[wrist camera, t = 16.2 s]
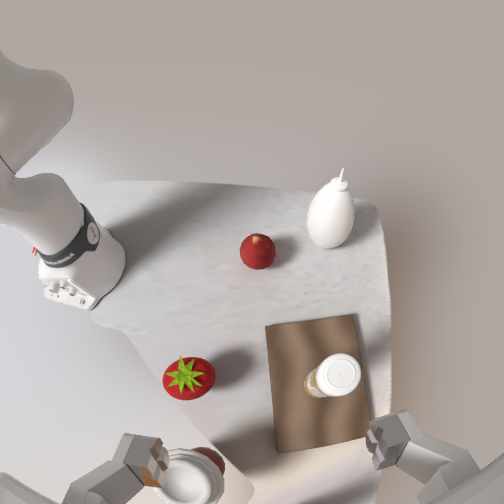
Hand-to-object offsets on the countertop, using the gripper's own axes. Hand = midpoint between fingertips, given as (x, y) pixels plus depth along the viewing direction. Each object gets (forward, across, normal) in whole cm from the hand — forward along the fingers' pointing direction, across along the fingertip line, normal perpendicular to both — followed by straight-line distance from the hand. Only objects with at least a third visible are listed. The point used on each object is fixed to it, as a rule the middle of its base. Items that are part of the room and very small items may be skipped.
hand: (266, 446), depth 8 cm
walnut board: (+24, -8, +20) cm, 32 cm away
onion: (+40, -1, +4) cm, 40 cm away
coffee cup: (+16, +10, +28) cm, 34 cm away
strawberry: (+26, +10, +18) cm, 33 cm away
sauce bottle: (+42, -14, +2) cm, 45 cm away
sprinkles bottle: (+24, -8, +19) cm, 31 cm away
